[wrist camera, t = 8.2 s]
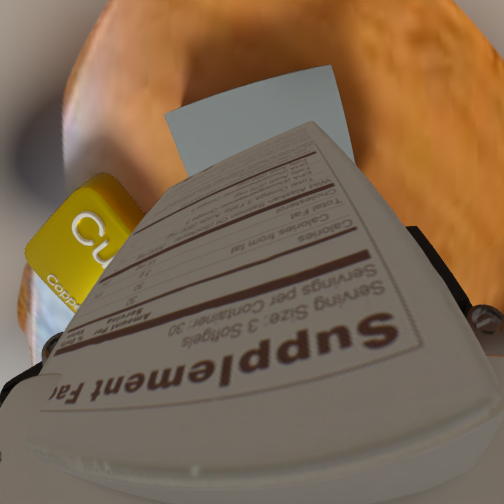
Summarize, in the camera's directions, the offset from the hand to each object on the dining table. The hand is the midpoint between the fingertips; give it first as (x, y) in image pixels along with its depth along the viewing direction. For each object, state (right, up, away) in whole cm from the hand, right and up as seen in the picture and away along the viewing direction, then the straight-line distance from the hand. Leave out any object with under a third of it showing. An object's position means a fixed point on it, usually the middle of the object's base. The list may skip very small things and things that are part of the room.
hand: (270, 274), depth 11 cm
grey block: (+1, +10, +15) cm, 18 cm away
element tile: (-17, +1, +22) cm, 28 cm away
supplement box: (0, +2, +4) cm, 5 cm away
